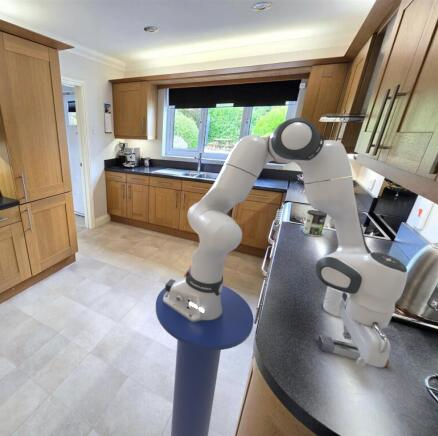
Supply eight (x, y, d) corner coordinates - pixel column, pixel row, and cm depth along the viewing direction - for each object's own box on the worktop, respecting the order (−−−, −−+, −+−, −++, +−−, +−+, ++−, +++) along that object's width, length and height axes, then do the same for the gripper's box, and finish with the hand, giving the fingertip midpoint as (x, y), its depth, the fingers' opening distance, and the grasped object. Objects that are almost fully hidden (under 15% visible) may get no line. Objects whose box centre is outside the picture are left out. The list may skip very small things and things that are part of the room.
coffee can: (324, 234, 154) (330, 213, 149) (316, 237, 149) (322, 216, 144) (307, 228, 162) (312, 208, 157) (299, 232, 157) (304, 211, 152)
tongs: (379, 356, 70) (383, 349, 69) (386, 367, 67) (389, 360, 66) (317, 341, 75) (319, 334, 74) (320, 350, 72) (323, 343, 71)
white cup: (337, 320, 83) (346, 296, 80) (316, 305, 90) (322, 283, 87) (353, 315, 86) (362, 291, 82) (331, 301, 93) (338, 279, 89)
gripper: (406, 344, 55) (385, 387, 60) (365, 292, 73) (351, 327, 78) (372, 336, 57) (354, 378, 62) (340, 287, 75) (328, 322, 80)
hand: (352, 349), depth 70 cm, fingers open, 8 cm apart
